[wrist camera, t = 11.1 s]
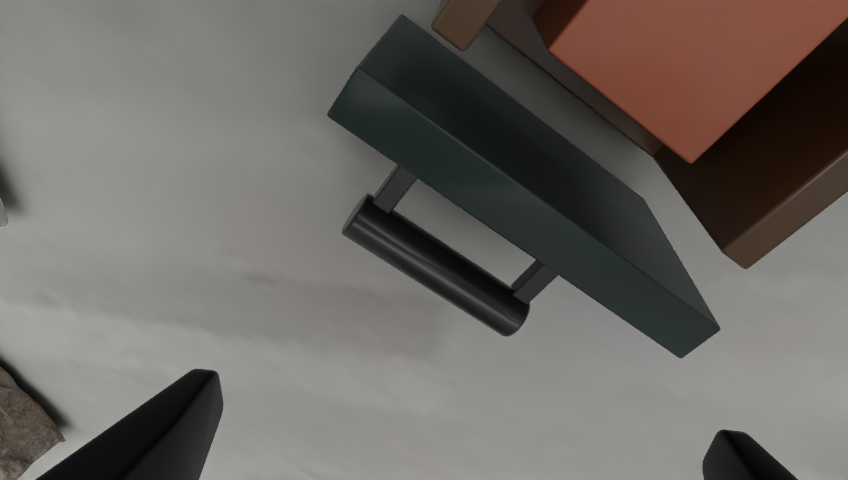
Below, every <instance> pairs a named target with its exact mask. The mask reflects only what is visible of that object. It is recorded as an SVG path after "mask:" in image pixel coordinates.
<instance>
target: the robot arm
mask: <svg viewBox="0 0 848 480" xmlns="http://www.w3.org/2000/svg"><path fill="white" fill-rule="evenodd" d="M222 411H223V397H222V391H221V385H220V379H219V375H218V373H217V372H216V371H213V370H205V369H194V370H191V371H190V372H188V373H187V374H185V375H184V376H183V377H181V378H180V379H178V380H177V381H175V382H174V383H173V384H171V385H170V386H168V387H167V388H165V389H164V390H163V391H161V392H160V393H158V394H157V395H156V396H154V397H153V398H151V399H150V400H148V401H147V402H146V403H144V404H143V405H141V406H140V407H138V408H137V409H136V410H134V411H133V412H131V413H130V414H128V415H127V416H126V417H124V418H123V419H121V420H120V421H118V422H117V423H116V424H114V425H113V426H111V427H110V428H108V429H107V430H106V431H104V432H103V433H101V434H100V435H98V436H97V437H96V438H94V439H93V440H91V441H90V442H88V443H87V444H86V445H84V446H83V447H81V448H80V449H78V450H77V451H76V452H74V453H73V454H71V455H70V456H69V457H67V458H66V459H64V460H63V461H61V462H60V463H59V464H57V465H56V466H54V467H53V468H51V469H50V470H49V471H47V472H46V473H44V474H43V475H41V476H40V477H39V478H37V479H36V480H199V478H200V475H201V472H202V469H203V467H204V464H205V461H206V458H207V455H208V452H209V450H210V447H211V444H212V441H213V438H214V435H215V432H216V430H217V427H218V424H219V421H220V418H221V415H222ZM703 476H704V480H798V479H797V478H796V477H795V476H793V475H792V474H791V473H790V472H789V471H788V470H787V469H786V468H785V467H784V466H782V465H781V464H780V463H779V462H778V461H777V460H776V459H775V458H774V457H772V456H771V455H770V454H769V453H768V452H767V451H766V450H765V449H764V448H763V447H761V446H760V445H759V444H758V443H757V442H756V441H755V440H754V439H753V438H751V437H750V436H749V435H748V434H746V433H744V432H740V431H732V430H720V431H719V432H717V434H716V436H715V438H714V439H713V441H712V443H711V445H710V447H709V449H708V451H707V453H706V455H705V457H704V460H703Z"/></svg>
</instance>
